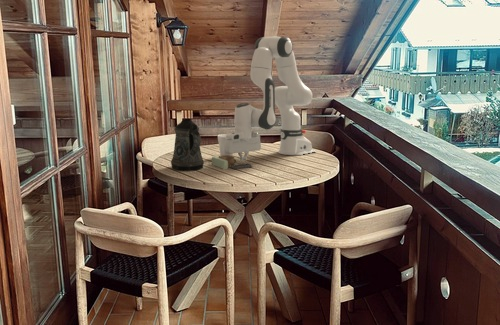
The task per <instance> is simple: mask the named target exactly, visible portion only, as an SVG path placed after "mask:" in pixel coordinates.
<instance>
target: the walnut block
mask: <svg viewBox="0 0 500 325" xmlns="http://www.w3.org/2000/svg"><path fill="white" fill-rule="evenodd" d="M218 157H219V158H221V159H224V160H227V161H228V168H230V166H231V165H235V162H234V159H235V156H234V155H233V156H231V155H224V156H220V155H219V156H218Z"/></svg>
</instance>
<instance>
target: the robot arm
mask: <svg viewBox="0 0 500 325" xmlns="http://www.w3.org/2000/svg"><path fill="white" fill-rule="evenodd" d="M293 48H294V44H293V42H292V40H291V39H290V38H289V37H287V36H276V35H275V36H263V37H260V38H258V39H256V41H255V43H254V52H253V54H252V58H251V66H250V75H249V77H250V79H251V82H252V83H253V84H254V85H255V86H257V87H259V88H260V89H261V90H262V91H261V92H262V93H263V94H262V95H263V108H262V109H260V108H256V107H254V106H252V105H251V103H250V102H249V103H248V102H241V103H238V104H236V106H235V109H234V130H233V131H232V132H229V133H226V134H227V135H226V138H228V139H227V140H226V142H225V152H226V153H228V154H232V153H233V154H237V155H238V157H239V160H240V161H247V158H248V155H249V152H256V151H257V152H258V151H260V150H261V149H262V145H261V144H262V143H261V135H260V134H259V133H258V132H256V133H252V127H255V128H259V129H260V128H261V129H263V130H271V129H272V128H273V127H274V126H275V124H276V122H277V114H276V106H277V108H278V110H279V113H280V119H281V120H280V121H281V123H280V124H281V128H280V145H279V149H278V154H281V155H286V156H304V155H303V154H305V155H309V154H308V153H310V154H313V153H312V152H316V153H317V151H316V150H315V149H313V146H312V142H311V140H309V139H308V138H306V137H305V136H304V135H303V134H306V133H307V130H306V129H301V123H302V122H301V120H302V119H301V115H300V114H299V113H298V112H296V110H295V109H294V106H296V107H302V106H304V107H305V106H309V105H310V104H311V102H312V101H313V91H312V90H311V89H310V88H309V87H308V86H306V85H305V84H304V82H303V81H302V79H301V78H300V75H299V72H298V67H297V62H296V57H295V53H294V50H293ZM273 59H274V60H275V66H276V72H277V76H278V80H279V81H280V82H282V83H283V84H284V85H281V86H275V82H274V80H273V76H272V72H273V70H272V69H273ZM243 153H244V155H243Z"/></svg>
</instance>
